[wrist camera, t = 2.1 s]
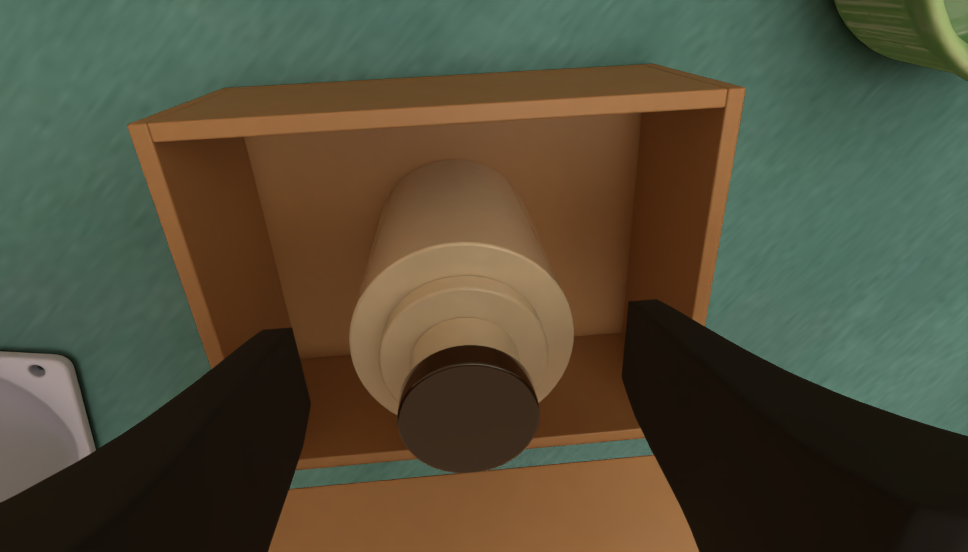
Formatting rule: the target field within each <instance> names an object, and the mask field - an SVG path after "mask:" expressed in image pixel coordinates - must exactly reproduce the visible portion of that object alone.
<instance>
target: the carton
mask: <svg viewBox="0 0 968 552" xmlns="http://www.w3.org/2000/svg"><path fill="white" fill-rule="evenodd" d="M745 91H746V89H745V88H744V87H741V86H737V85H733V84H729V83H725V82H722V81H718V80H714V79H710V78H706V77H702V76H698V75H695V74H691V73H687V72H683V71H679V70H675V69H672V68H668V67H664V66H660V65H656V64H640V65H622V66H604V67H586V68H569V69H551V70H533V71H516V72H498V73H480V74H463V75H445V76H427V77H410V78H392V79H374V80H357V81H339V82H321V83H304V84H286V85H268V86H251V87H233V88H223V89H220V90H218V91H215V92H212V93H210V94H207V95H204V96H202V97H199V98H196V99H194V100H191V101H188V102H186V103H183V104H180V105H178V106H175V107H172V108H170V109H167V110H164V111H162V112H159V113H156V114H154V115H151V116H148V117H146V118H143V119H140V120H138V121H135V122H132V123H130V124H128V129H129V132H130V135H131V138H132V141H133V144H134V147H135V150H136V152H137V155H138V158H139V161H140V164H141V167H142V170H143V173H144V176H145V178H146V181H147V184H148V187H149V190H150V193H151V196H152V199H153V202H154V204H155V207H156V210H157V213H158V216H159V219H160V222H161V225H162V228H163V230H164V233H165V236H166V239H167V242H168V245H169V248H170V251H171V254H172V256H173V259H174V262H175V265H176V268H177V271H178V274H179V277H180V279H181V282H182V285H183V288H184V291H185V294H186V297H187V300H188V303H189V305H190V308H191V311H192V314H193V317H194V320H195V323H196V326H197V329H198V331H199V334H200V337H201V340H202V343H203V346H204V349H205V352H206V355H207V357H208V360H209V363H210V366H211V369H212V368H214V367H215V366H216V365H217V364H219V363H220V362H221V361H222V360H224V359H225V358H226V357H227V356H229V355H230V354H231V353H232V352H234V351H235V350H236V349H237V348H239V347H240V346H241V345H243V344H244V343H245V342H246V341H248V340H249V339H250V338H252V337H253V336H254V335H256V334H257V333H259V332H260V331H262V330H265V329H278V328H291V327H292V329H293V333H294V337H295V341H296V345H297V349H298V353H299V357H300V361H301V365H302V369H303V373H304V377H305V381H306V385H307V389H308V393H309V397H310V401H311V407H310V413H309V419H308V425H307V430H306V435H305V440H304V445H303V448H302V451H301V455H300V458H299V461H298V464H297V467H296V470H303V469H314V468H325V467H336V466H346V465H357V464H368V463H379V462H390V461H401V460H411V459H418V458H416V457H415V456H414V455H413V454H412V453H411V452H410V451H409V450H408V449H407V447H406V446H405V444H404V443H403V441H402V439H401V437H400V434H399V431H398V426H397V415H395V414H394V413H392V412H390V411H389V410H388V409H386V408H385V407H384V406H382V405H381V404H380V403H379V402H378V401H377V400H376V399H375V398H374V397H373V396H371V394H370V393H369V392H368V391H367V389H366V388H365V387H364V385H363V384H362V382H361V380H360V378H359V377H358V375H357V373H356V370H355V368H354V365H353V363H352V359H351V354H350V350H349V330H350V323H351V319H352V315H353V311H354V308H355V304H356V301H357V297H358V293H359V290H360V286H361V283H362V279H363V275H364V272H365V268H366V265H367V261H368V257H369V254H370V250H371V246H372V243H373V239H374V236H375V232H376V228H377V225H378V221H379V218H380V214H381V210H382V207H383V205H384V203H385V200H386V199H387V197H388V195H389V194H390V192H391V191H392V189H393V188H394V187H395V186H396V184H397V183H398V182H399V181H401V180H402V179H403V178H404V177H405V176H406V175H408V174H409V173H411V172H412V171H414V170H416V169H417V168H419V167H421V166H424V165H426V164H429V163H432V162H437V161H441V160H451V159H457V160H467V161H473V162H477V163H480V164H483V165H485V166H487V167H490V168H492V169H494V170H495V171H497V172H498V173H500V174H501V175H503V176H504V177H505V178H506V179H507V180H509V181H510V183H511V184H512V185H513V186H514V187H515V188H516V190H517V191H518V193H519V194H520V196H521V197H522V199H523V202H524V204H525V206H526V208H527V210H528V213H529V215H530V217H531V219H532V222H533V224H534V226H535V228H536V231H537V233H538V235H539V237H540V240H541V242H542V244H543V246H544V249H545V251H546V253H547V255H548V258H549V260H550V262H551V264H552V267H553V269H554V271H555V273H556V276H557V278H558V280H559V282H560V285H561V287H562V289H563V291H564V294H565V296H566V298H567V300H568V303H569V306H570V309H571V312H572V315H573V322H574V343H573V349H572V353H571V356H570V359H569V363H568V365H567V367H566V369H565V371H564V373H563V375H562V377H561V378H560V380H559V381H558V383H557V384H556V386H555V387H554V388H553V389H552V391H551V392H550V393H549V394H548V395H547V396H546V397H545V398H544V399H543V400H542V401H540V402H539V408H540V420H539V425H538V428H537V431H536V433H535V435H534V438H533V439H532V441H531V442H530V444H529V445H528V446H527V447H526V448H525V449H531V448H542V447H552V446H563V445H574V444H585V443H596V442H607V441H618V440H628V439H639V438H645V436H644V434H643V432H642V430H641V428H640V426H639V424H638V422H637V420H636V418H635V415H634V413H633V410H632V407H631V404H630V402H629V399H628V396H627V393H626V390H625V387H624V383H623V380H622V366H623V355H624V344H625V334H626V323H627V312H628V301H638V300H651V299H657V300H659V301H661V302H663V303H665V304H667V305H669V306H671V307H672V308H674V309H676V310H678V311H679V312H681V313H683V314H684V315H686V316H688V317H690V318H691V319H693V320H695V321H696V322H698V323H700V324H701V325H703V326H705V322H706V316H707V311H708V305H709V299H710V293H711V287H712V282H713V276H714V270H715V264H716V259H717V253H718V247H719V241H720V235H721V230H722V224H723V218H724V212H725V206H726V201H727V195H728V189H729V183H730V178H731V172H732V166H733V160H734V154H735V149H736V143H737V137H738V131H739V126H740V120H741V114H742V108H743V102H744V97H745Z"/></svg>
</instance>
